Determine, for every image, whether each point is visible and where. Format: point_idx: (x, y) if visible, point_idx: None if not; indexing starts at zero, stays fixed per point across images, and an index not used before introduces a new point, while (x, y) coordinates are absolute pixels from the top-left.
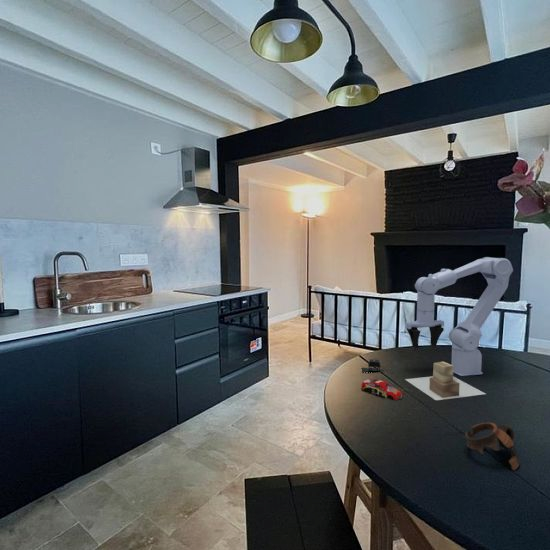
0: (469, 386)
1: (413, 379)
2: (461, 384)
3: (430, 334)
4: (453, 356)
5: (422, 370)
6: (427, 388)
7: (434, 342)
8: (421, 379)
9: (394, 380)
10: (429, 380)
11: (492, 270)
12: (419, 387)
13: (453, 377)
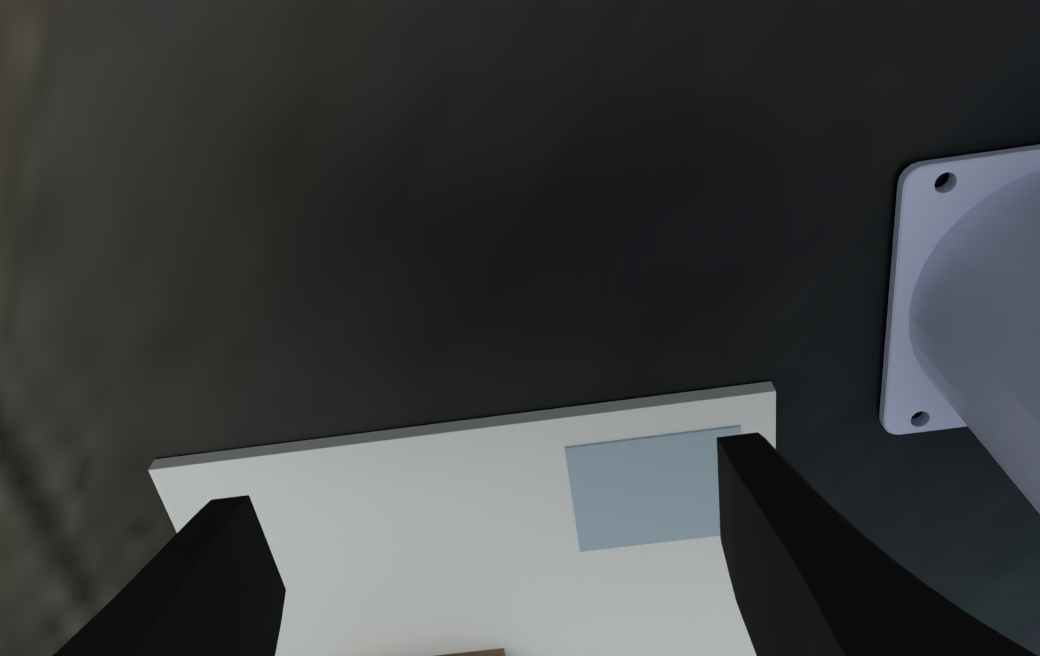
0: (749, 645)
1: (251, 479)
2: (705, 609)
3: (817, 598)
4: (1026, 417)
5: (519, 182)
6: (317, 654)
7: (747, 602)
8: (346, 486)
9: (31, 441)
10: (427, 513)
11: None
12: None
13: None
